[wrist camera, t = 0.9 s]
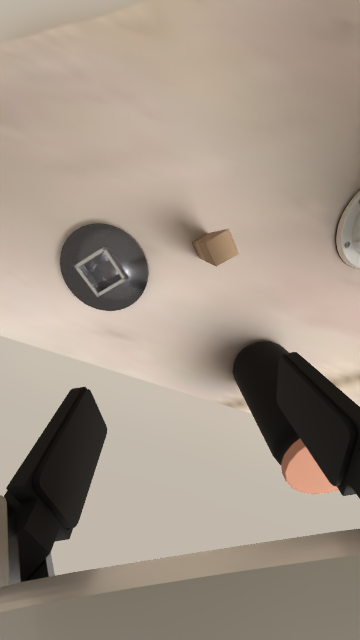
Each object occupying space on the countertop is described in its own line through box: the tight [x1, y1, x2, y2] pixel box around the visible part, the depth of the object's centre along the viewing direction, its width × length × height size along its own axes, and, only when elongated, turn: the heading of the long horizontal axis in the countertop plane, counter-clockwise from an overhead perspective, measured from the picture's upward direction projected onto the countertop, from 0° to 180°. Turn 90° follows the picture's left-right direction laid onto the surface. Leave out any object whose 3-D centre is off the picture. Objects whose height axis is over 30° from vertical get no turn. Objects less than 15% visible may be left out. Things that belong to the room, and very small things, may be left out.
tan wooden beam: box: [192, 229, 239, 266], centre depth 23 cm, size 2×2×10 cm
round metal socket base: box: [60, 224, 149, 311], centre depth 26 cm, size 12×12×3 cm
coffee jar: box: [233, 342, 339, 494], centre depth 28 cm, size 11×11×18 cm
